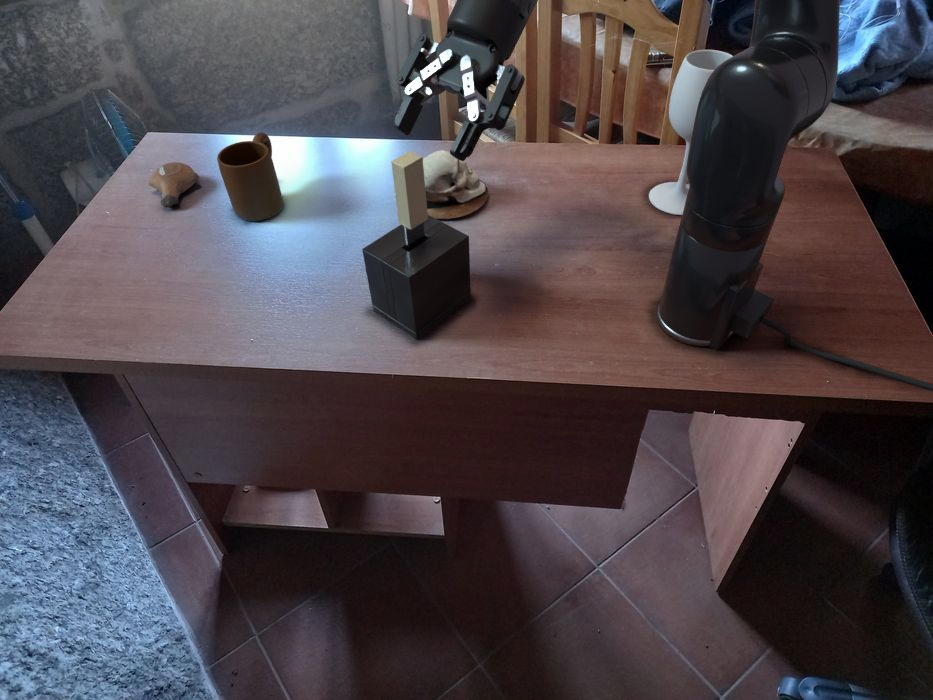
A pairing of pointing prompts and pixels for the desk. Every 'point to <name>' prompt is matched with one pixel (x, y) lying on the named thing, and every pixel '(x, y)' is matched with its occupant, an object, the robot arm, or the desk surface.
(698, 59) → the wineglass
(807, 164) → the desk surface
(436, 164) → the skull
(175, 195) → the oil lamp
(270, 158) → the mug
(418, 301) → the knife block
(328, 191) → the desk surface
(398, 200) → the knife
